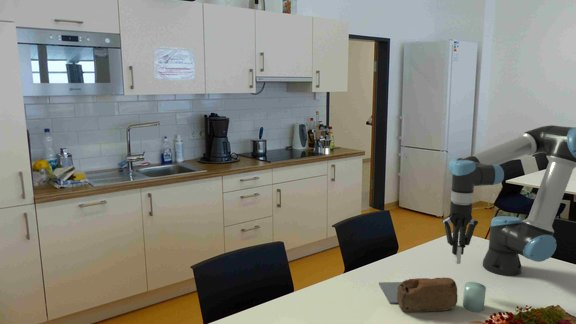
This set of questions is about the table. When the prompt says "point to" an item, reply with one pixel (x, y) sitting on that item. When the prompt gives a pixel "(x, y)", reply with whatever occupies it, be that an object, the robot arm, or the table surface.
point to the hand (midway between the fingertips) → (456, 262)
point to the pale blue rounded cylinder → (474, 296)
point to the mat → (390, 291)
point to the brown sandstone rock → (427, 294)
